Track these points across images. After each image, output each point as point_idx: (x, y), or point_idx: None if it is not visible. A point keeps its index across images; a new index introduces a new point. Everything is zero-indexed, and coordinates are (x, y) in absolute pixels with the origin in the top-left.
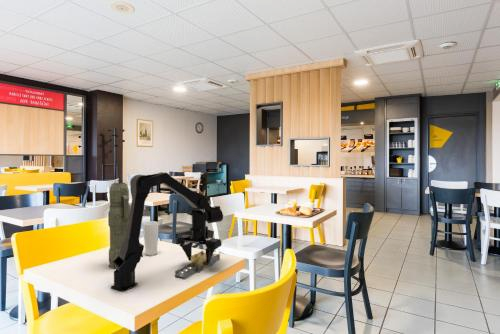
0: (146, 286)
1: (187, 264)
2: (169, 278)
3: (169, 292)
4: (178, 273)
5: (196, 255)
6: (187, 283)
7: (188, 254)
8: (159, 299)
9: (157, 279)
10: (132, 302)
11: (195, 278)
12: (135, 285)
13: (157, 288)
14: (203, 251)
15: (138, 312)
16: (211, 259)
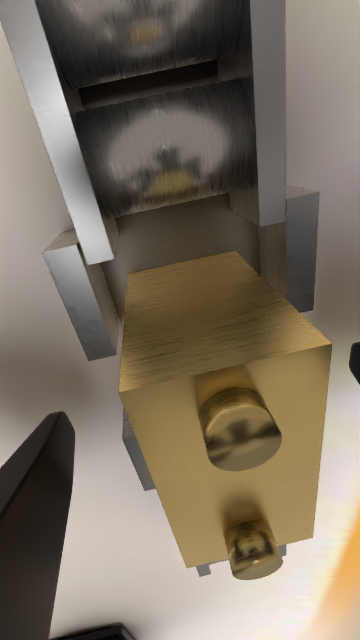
0: (166, 607)
1: (140, 472)
2: (176, 544)
3: (300, 576)
4: None
5: (275, 555)
6: (317, 516)
7: (54, 546)
8: (304, 600)
9: (133, 575)
10: (239, 636)
11: (320, 469)
12: (125, 631)
13: (225, 591)
14: (274, 427)
15: (303, 632)
16: (277, 161)
